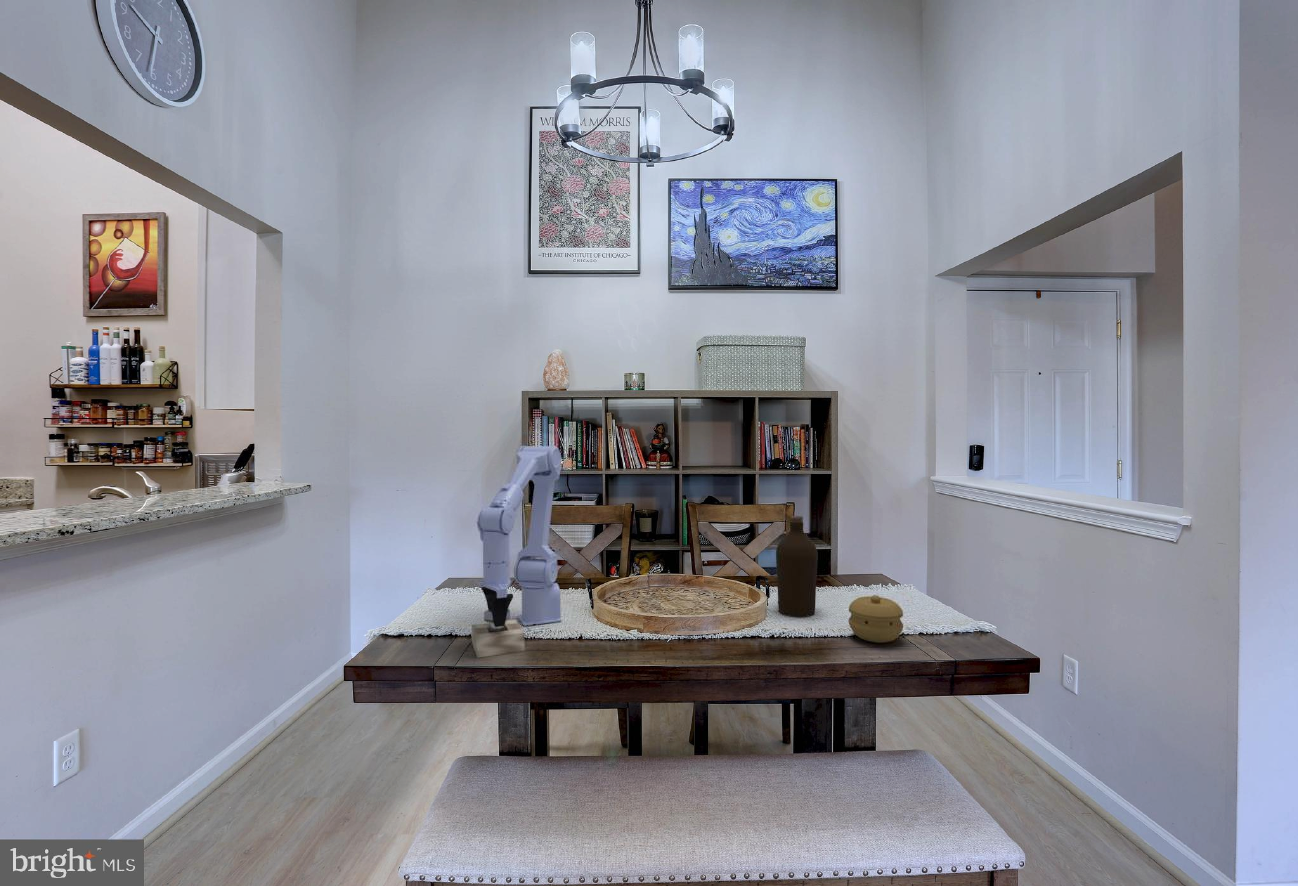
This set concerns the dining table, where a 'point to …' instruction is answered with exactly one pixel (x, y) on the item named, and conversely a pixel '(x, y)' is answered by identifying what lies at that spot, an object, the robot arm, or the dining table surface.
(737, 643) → the dining table surface
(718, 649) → the dining table surface
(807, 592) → the olive oil
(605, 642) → the dining table surface
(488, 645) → the maple block
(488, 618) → the grey metal knob
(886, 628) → the lidded pot
